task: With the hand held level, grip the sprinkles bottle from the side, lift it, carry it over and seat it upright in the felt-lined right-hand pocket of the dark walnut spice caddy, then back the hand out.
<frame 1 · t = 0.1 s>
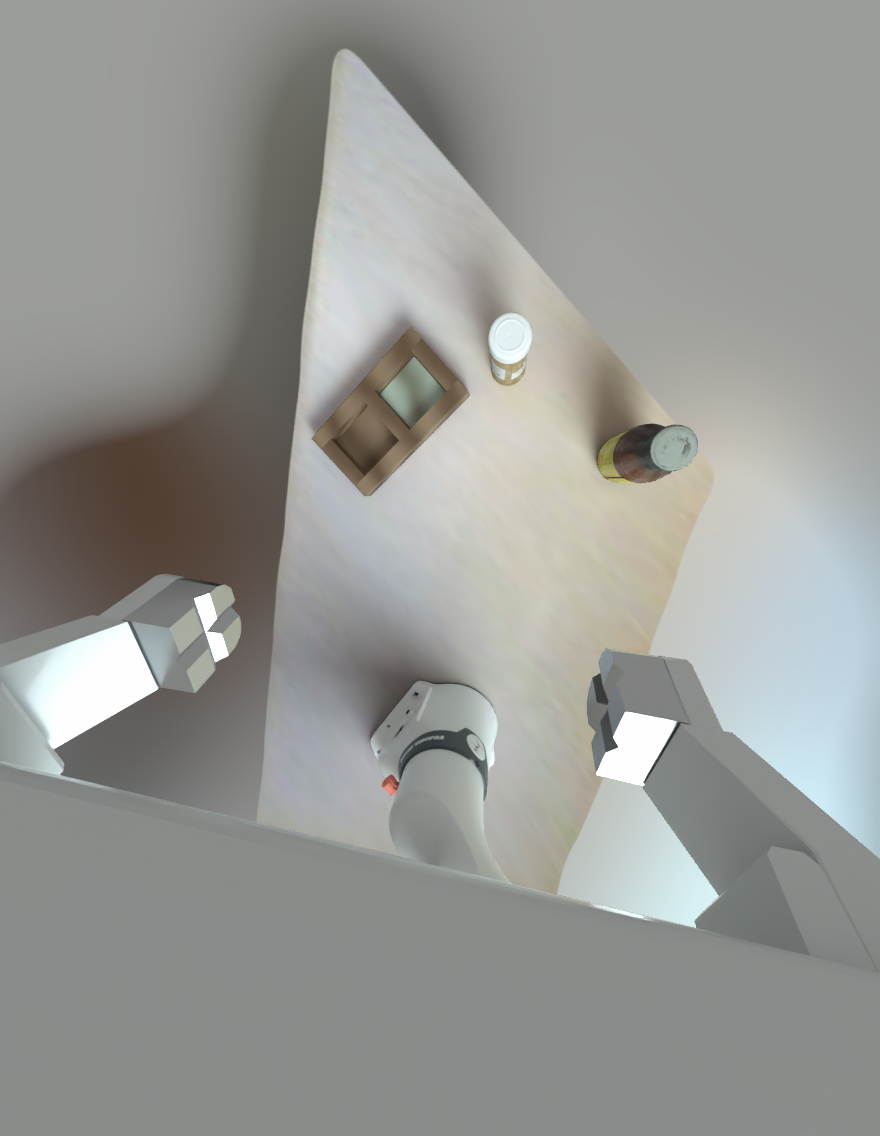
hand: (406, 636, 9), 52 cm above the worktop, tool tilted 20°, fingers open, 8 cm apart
sprinkles bottle: (507, 368, 55), on the worktop
sauce bottle: (617, 458, 56), on the worktop
spice caddy: (392, 418, 58), on the worktop
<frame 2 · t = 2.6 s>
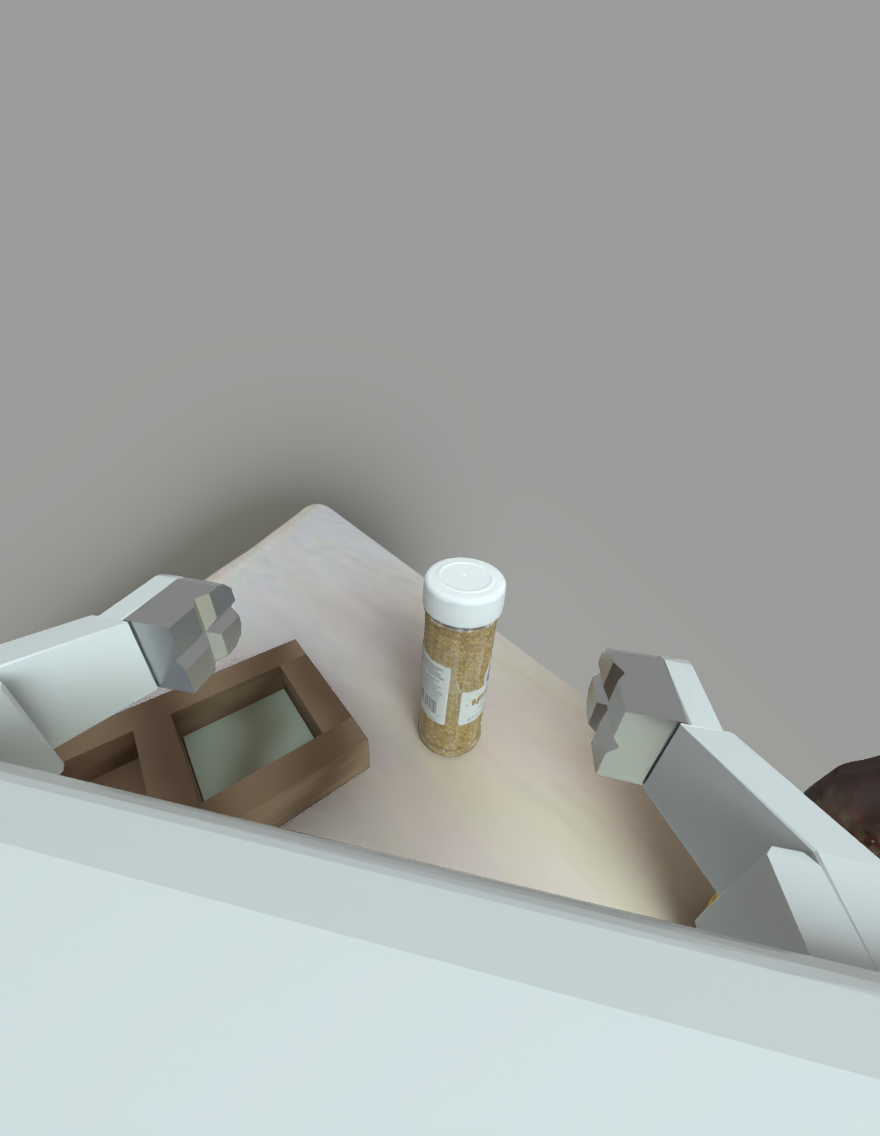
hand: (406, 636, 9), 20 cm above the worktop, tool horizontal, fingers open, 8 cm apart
sprinkles bottle: (448, 731, 30), on the worktop
sauce bottle: (756, 979, 19), on the worktop
spice caddy: (178, 793, 25), on the worktop
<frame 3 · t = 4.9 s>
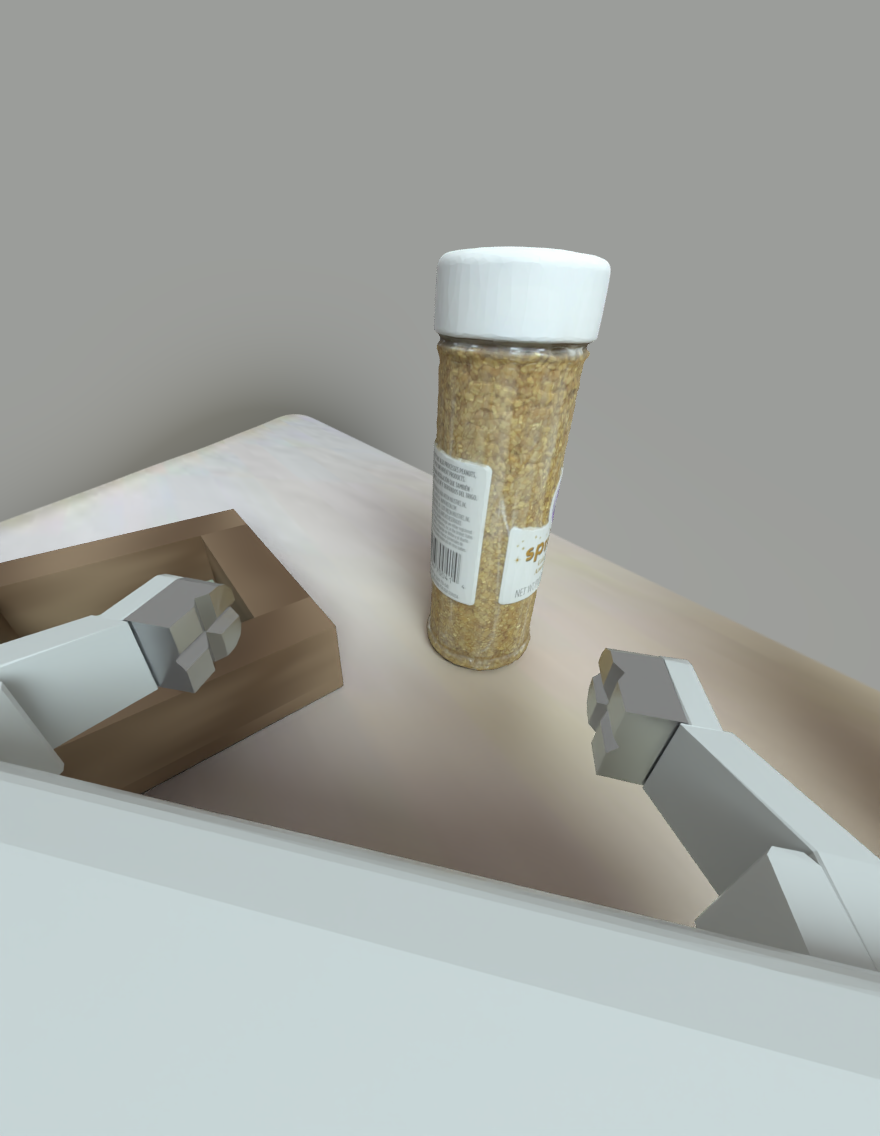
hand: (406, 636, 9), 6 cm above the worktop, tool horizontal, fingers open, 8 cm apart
sprinkles bottle: (476, 638, 18), on the worktop
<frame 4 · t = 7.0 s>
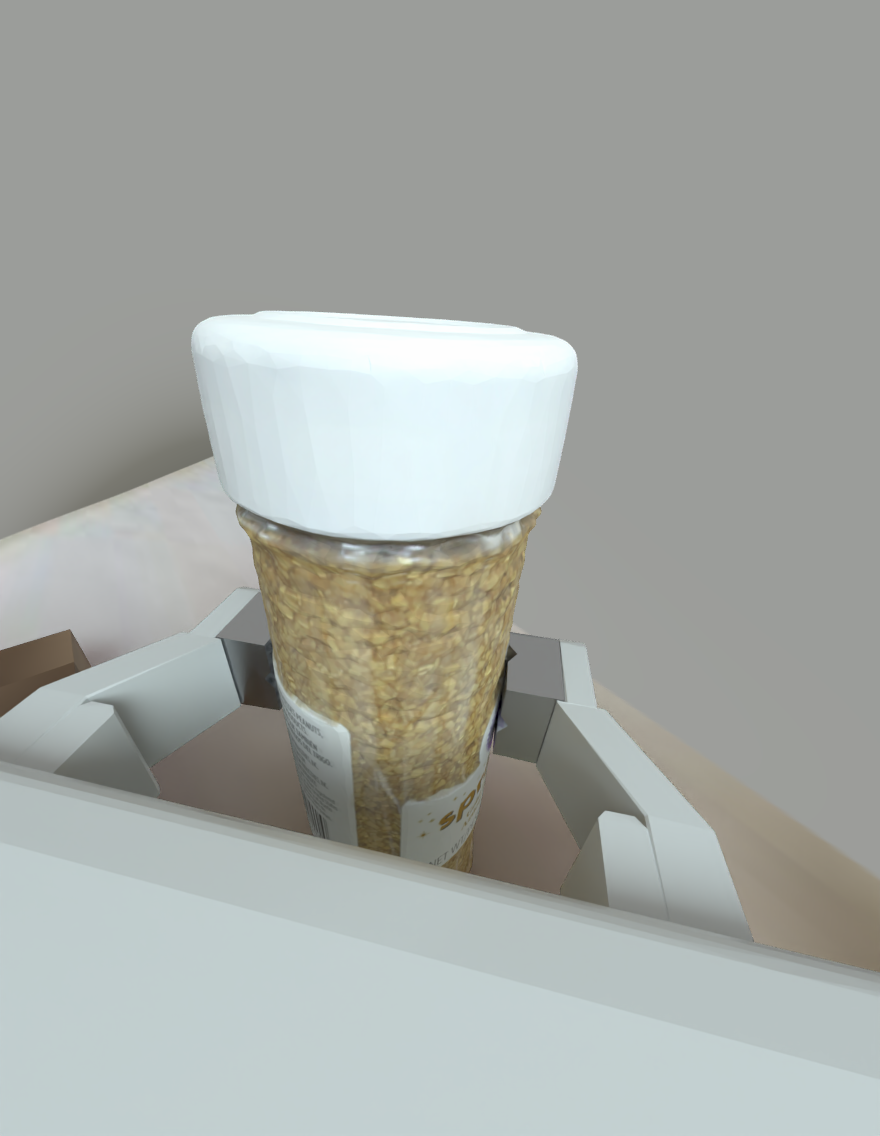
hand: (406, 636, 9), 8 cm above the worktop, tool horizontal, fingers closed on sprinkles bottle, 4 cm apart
sprinkles bottle: (395, 847, 12), on the worktop, touching gripper
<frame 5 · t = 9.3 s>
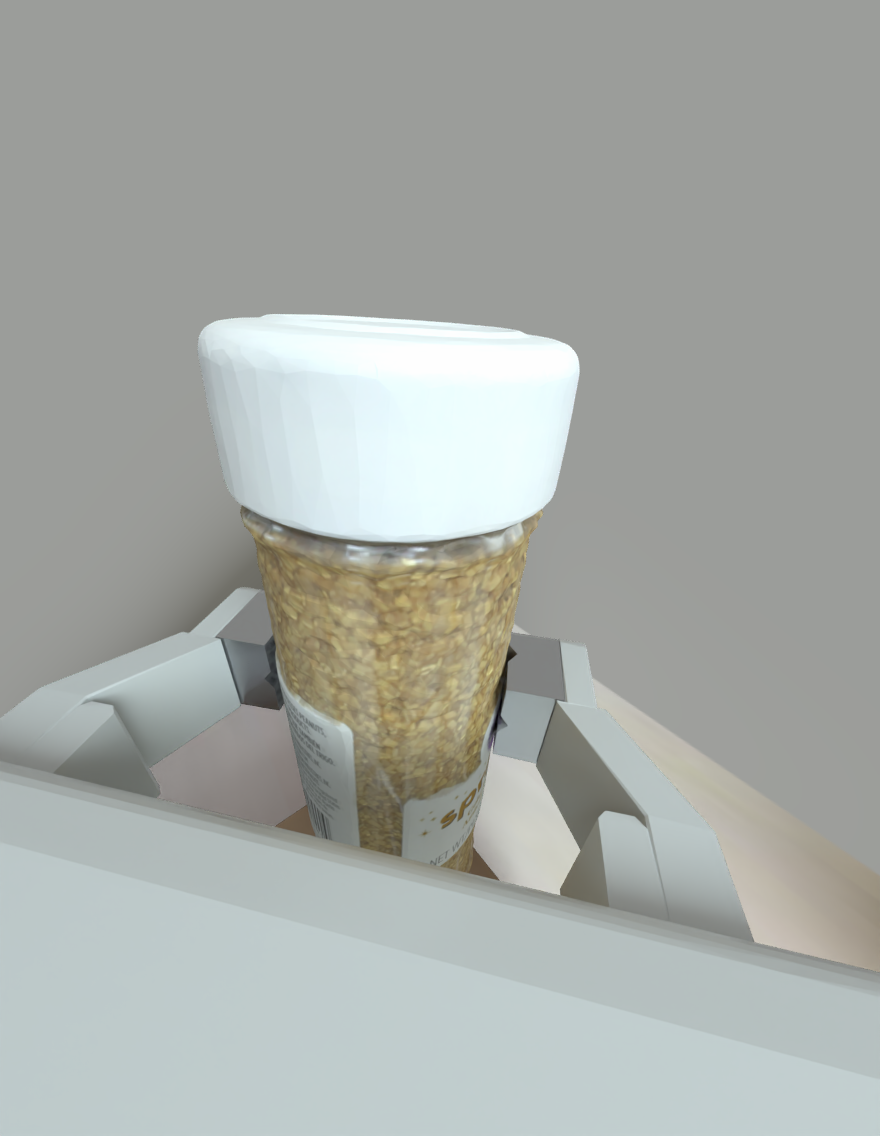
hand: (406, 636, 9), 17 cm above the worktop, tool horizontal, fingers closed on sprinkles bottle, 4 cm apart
sprinkles bottle: (396, 846, 12), point 9 cm above the worktop, touching gripper
spice caddy: (248, 1066, 14), on the worktop
when the fingers open (10 cm above the worktop, at t = 11.5 s): sprinkles bottle drops 1 cm, resting on spice caddy.
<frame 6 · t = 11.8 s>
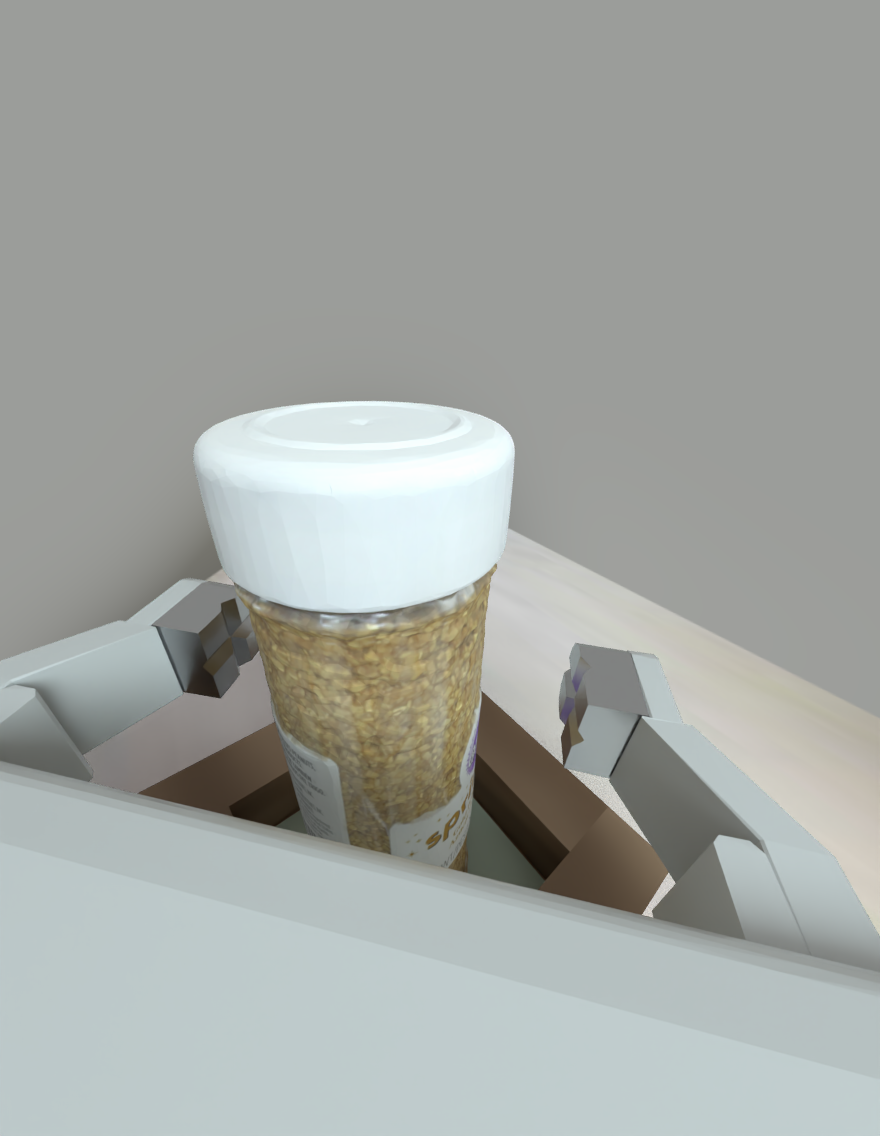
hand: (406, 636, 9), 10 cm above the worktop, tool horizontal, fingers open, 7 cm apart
sprinkles bottle: (395, 865, 13), point 1 cm above the worktop, touching spice caddy
spice caddy: (254, 997, 11), on the worktop
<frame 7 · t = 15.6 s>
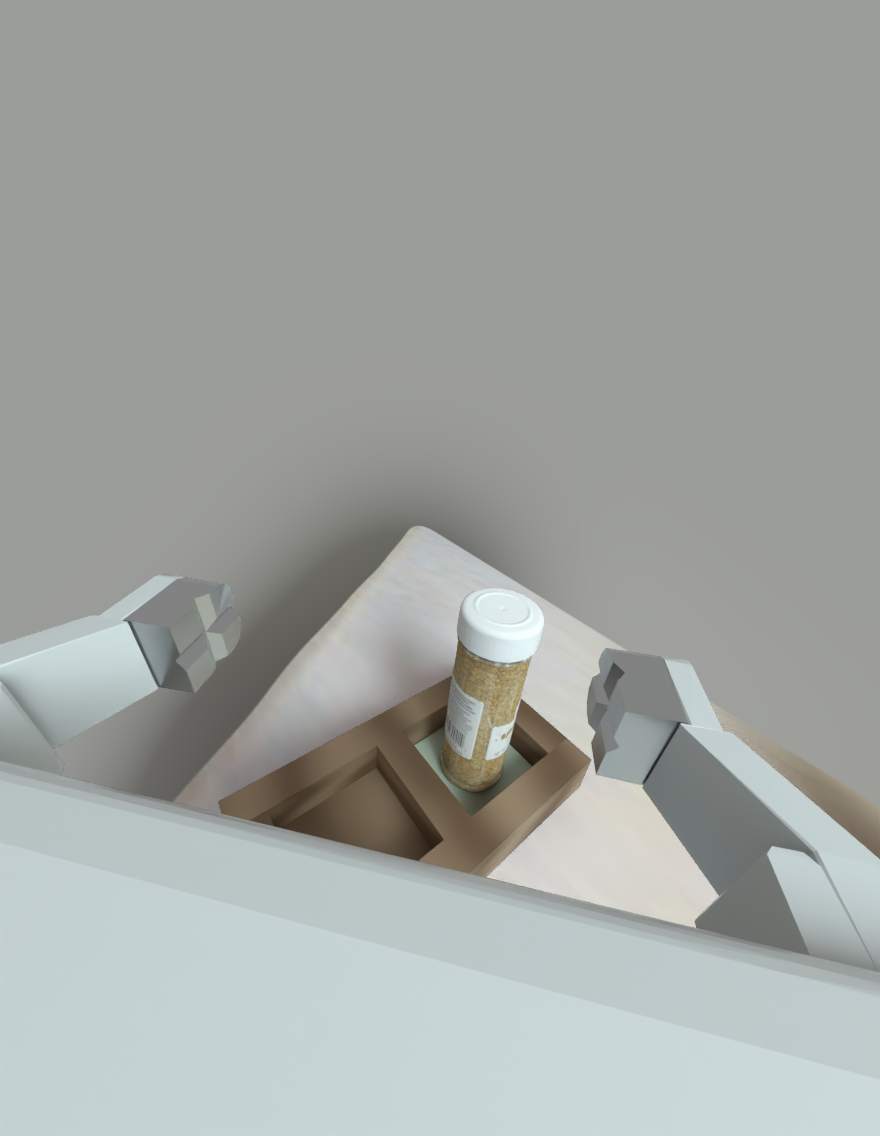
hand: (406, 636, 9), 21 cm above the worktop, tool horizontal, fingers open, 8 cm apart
sprinkles bottle: (470, 764, 29), point 1 cm above the worktop, touching spice caddy
spice caddy: (418, 806, 26), on the worktop
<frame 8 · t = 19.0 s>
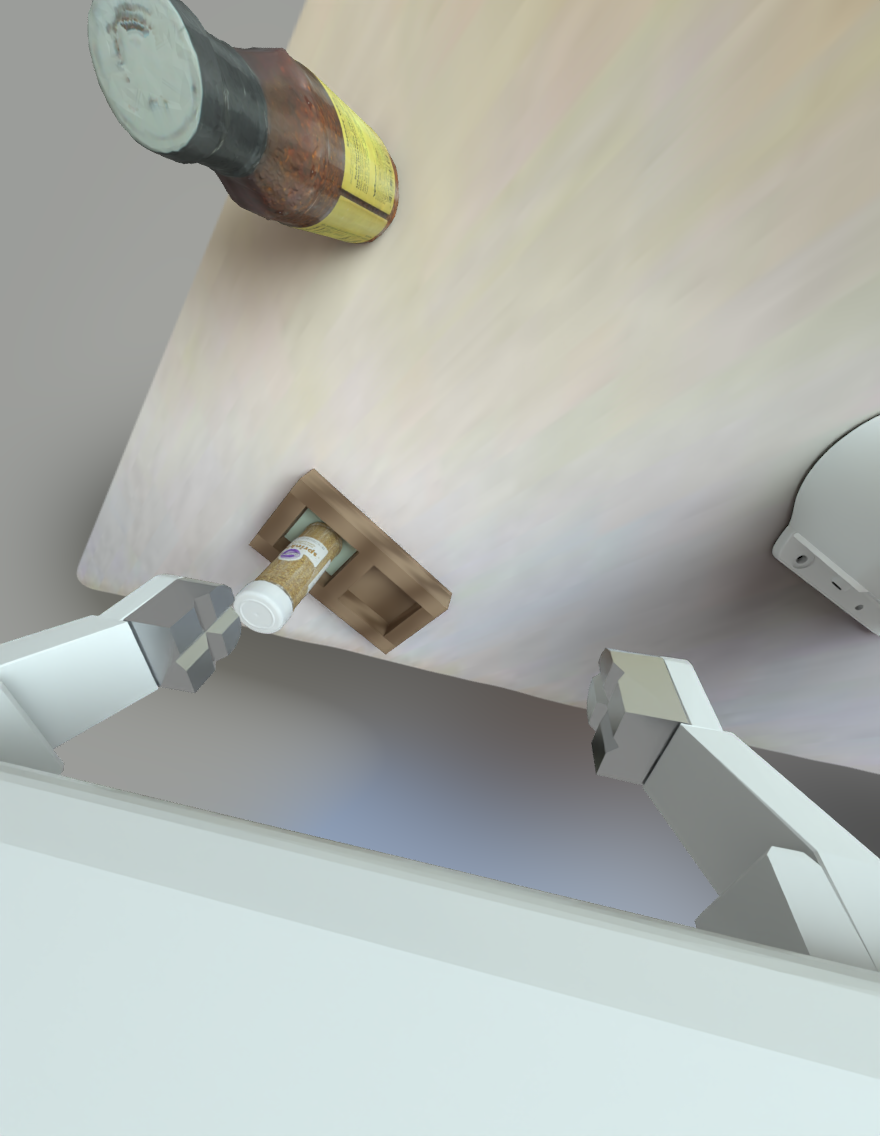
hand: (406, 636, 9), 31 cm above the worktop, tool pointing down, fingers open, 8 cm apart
sprinkles bottle: (324, 538, 45), point 1 cm above the worktop, touching spice caddy
sauce bottle: (360, 195, 30), on the worktop
spice caddy: (357, 562, 47), on the worktop
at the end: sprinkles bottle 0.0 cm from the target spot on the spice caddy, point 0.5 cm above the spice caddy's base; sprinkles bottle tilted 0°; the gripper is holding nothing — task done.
